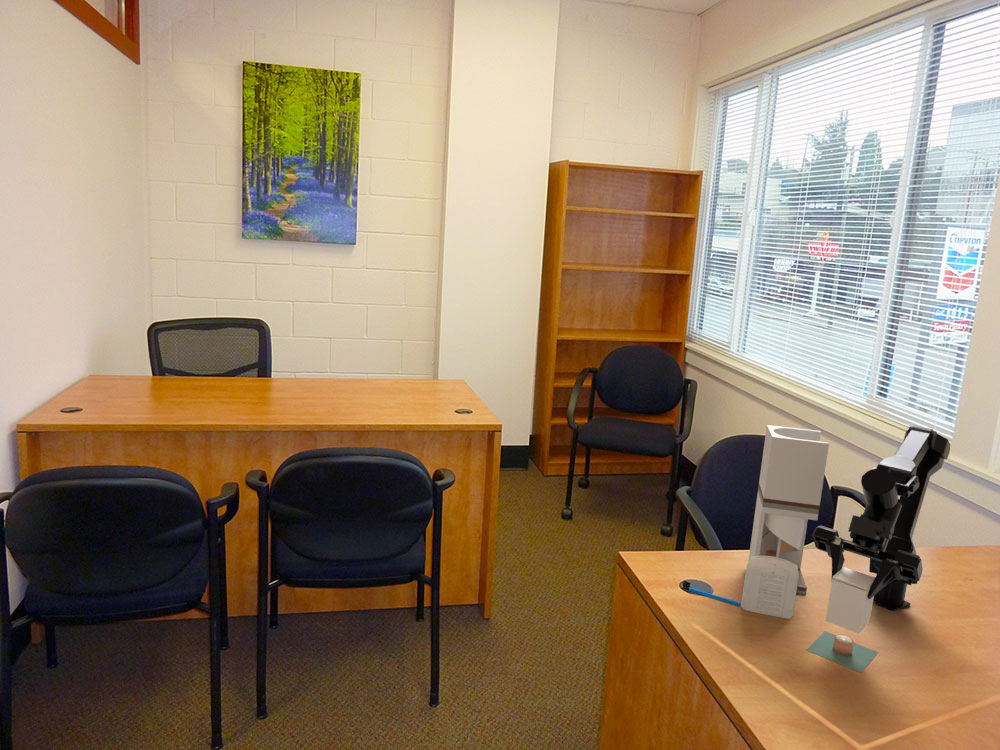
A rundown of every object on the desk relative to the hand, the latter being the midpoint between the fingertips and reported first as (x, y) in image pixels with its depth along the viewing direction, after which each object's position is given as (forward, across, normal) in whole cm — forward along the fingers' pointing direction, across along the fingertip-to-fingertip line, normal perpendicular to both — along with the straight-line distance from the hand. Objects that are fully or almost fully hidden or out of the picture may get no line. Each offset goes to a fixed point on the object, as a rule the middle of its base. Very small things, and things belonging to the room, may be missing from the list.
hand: (850, 591), depth 138 cm
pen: (+7, -25, +12) cm, 29 cm away
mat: (+8, 0, +10) cm, 13 cm away
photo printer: (+6, -17, +14) cm, 22 cm away
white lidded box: (+4, 0, +6) cm, 7 cm away
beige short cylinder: (+8, 0, +10) cm, 13 cm away
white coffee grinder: (-5, -21, +25) cm, 33 cm away
